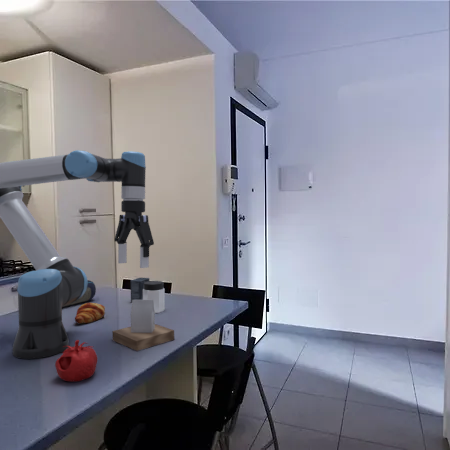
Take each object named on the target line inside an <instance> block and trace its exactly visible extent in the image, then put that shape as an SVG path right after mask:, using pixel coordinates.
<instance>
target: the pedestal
mask: <svg viewBox="0 0 450 450" xmlns="http://www.w3.org/2000/svg"><path fill="white" fill-rule="evenodd" d="M174 340H175V329H171V328H168V327H165V326H162V325H159V324H156V323H155V329H154V331H153V332H152V333H139V332H131V326H126V327H123V328H119V329H115V330H112V341H113V342H116V343H117V344H120V345H122V346H124V347H126V348H129V349H131V350H133V351H136V352H138V351H141V350H145V349H149V348H152V347H154V346H157V345H161V344H164V343H168V342H171V341H174Z"/></svg>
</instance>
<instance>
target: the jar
mask: <svg viewBox="0 0 450 450" xmlns="http://www.w3.org/2000/svg"><path fill="white" fill-rule="evenodd" d="M165 291H166V290H165V288H164V281H161V280H149V281H148V282H144V289H143V300H153V304H154V311H155V314H160V313H163V312H164V311H165V309H166V307H165V306H166V304H165V303H166V301H165V300H166V299H165V298H166V297H165Z"/></svg>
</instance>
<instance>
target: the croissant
mask: <svg viewBox="0 0 450 450" xmlns="http://www.w3.org/2000/svg"><path fill="white" fill-rule="evenodd" d="M105 309H106V306H104V305H103V304H100V303H96V302H84V304H83V303H82V304H81V305H80V306H79V307H78V308H77V311H76V315H75V317H74V321H75V322H76V324H89V323H92V322H96V321H98V320H100V319H102V318H103V317H104V315H105V314H106V312H105V311H106V310H105Z"/></svg>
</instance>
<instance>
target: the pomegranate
mask: <svg viewBox="0 0 450 450" xmlns="http://www.w3.org/2000/svg"><path fill="white" fill-rule="evenodd" d="M84 344H89V343H88V342H86V341H85V342H84V341H83V342H82V343H80V340H79V339H76V340H75V341H74V346H70V345H69V346H63V347H68V348H67V349H66V350H64V351H63V352H62V354H61V355H60V357H59V358H57V359H56V361H55V362H54V363H55V364H54V367H55V370H56V373H57V375H58V377H59V378H60V379H61V380H63V381H66V382H75V383H76V382H81V381H83V380H87V379H89V378H91V377H92V376H93V375H94V374H95V372H96V369H97V364H98V355H97V353H96V350H95V349H94V348H93V347H92V345H91V346H90V345H88V346H84Z"/></svg>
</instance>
